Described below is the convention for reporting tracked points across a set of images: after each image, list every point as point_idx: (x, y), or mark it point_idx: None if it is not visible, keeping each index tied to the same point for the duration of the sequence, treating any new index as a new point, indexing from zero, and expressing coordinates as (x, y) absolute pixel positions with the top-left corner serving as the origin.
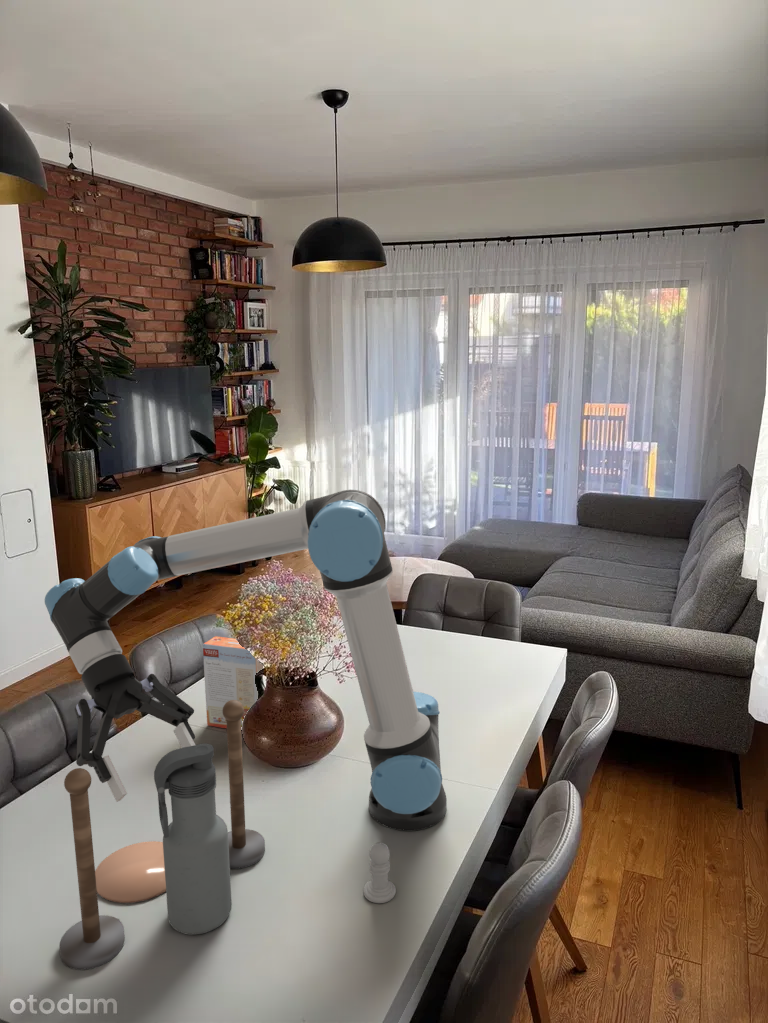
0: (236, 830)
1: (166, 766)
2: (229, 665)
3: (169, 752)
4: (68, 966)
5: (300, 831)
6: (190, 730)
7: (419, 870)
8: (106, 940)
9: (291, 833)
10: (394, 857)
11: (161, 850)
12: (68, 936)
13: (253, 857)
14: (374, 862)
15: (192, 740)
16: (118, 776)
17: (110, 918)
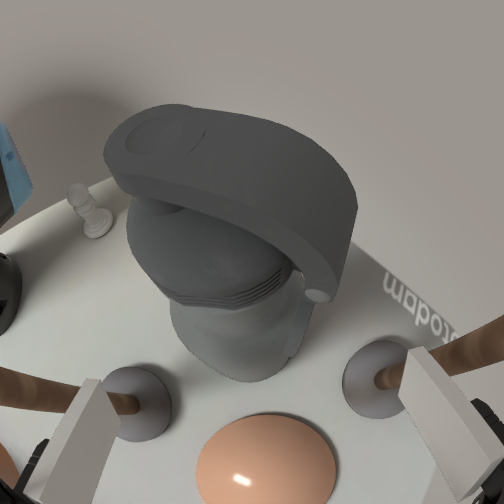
0: (123, 398)
1: (327, 156)
2: None
3: (268, 212)
4: None
5: (63, 368)
6: (32, 465)
7: (59, 223)
8: (372, 362)
9: (71, 375)
10: (52, 252)
11: (218, 490)
12: None
13: (134, 367)
14: (88, 194)
15: (59, 426)
16: (442, 391)
17: (353, 398)
